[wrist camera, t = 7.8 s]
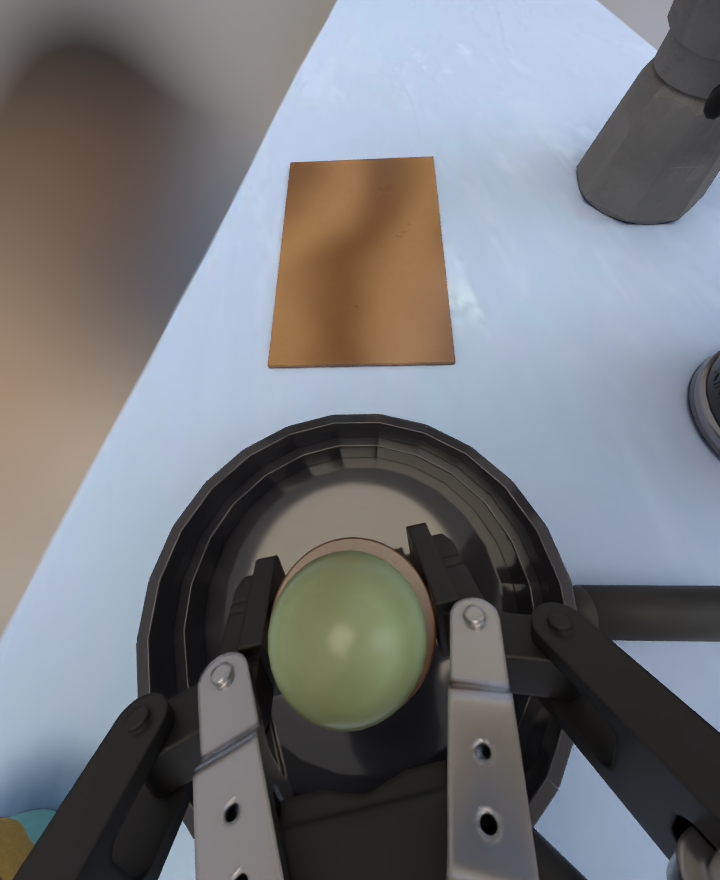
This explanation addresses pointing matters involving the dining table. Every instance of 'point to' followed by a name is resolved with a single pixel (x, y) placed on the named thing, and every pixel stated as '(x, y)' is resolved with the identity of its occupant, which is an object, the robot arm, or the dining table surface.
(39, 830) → the cupcake
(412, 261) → the placemat
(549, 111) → the dining table surface
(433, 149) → the dining table surface
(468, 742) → the robot arm
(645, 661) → the dining table surface
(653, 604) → the pan handle
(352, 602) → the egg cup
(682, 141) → the coffeepot
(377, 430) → the pan
